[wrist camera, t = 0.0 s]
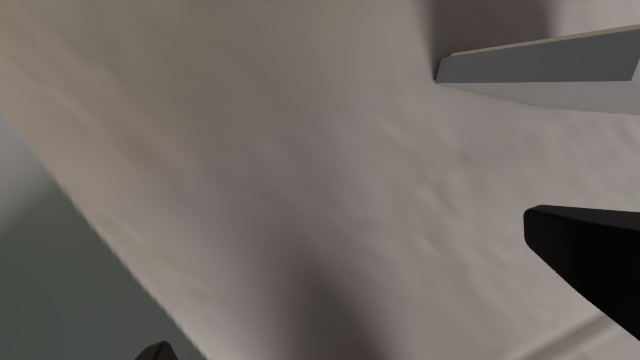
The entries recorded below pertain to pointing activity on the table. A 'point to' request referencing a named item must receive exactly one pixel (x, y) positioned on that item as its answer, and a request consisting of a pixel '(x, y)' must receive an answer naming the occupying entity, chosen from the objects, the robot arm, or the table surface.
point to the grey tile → (556, 71)
